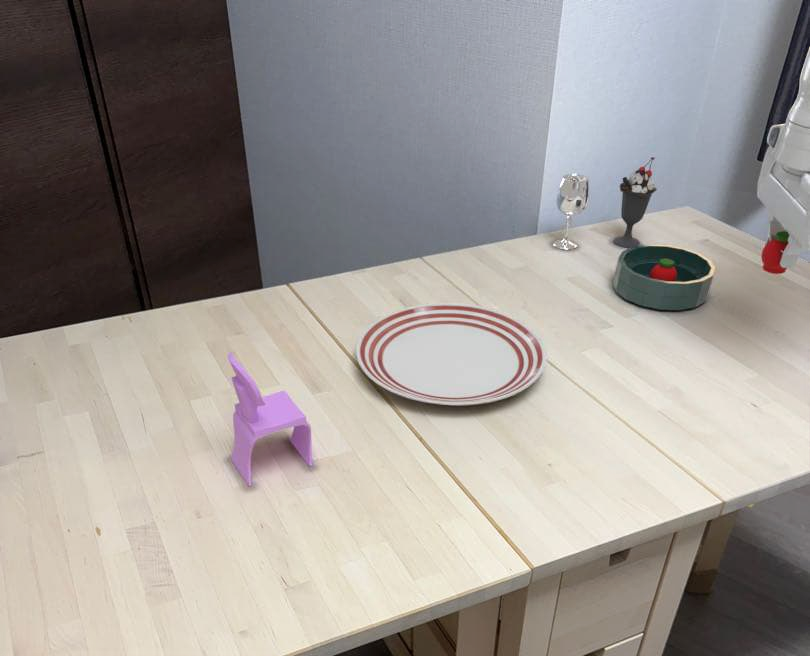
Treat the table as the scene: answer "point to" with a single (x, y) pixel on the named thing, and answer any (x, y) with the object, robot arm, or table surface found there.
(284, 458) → the table surface
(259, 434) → the toy chair
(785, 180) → the robot arm
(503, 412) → the table surface
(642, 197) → the sundae
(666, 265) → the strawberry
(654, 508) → the table surface
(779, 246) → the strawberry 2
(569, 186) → the wineglass
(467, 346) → the dinner plate
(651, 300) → the bowl
